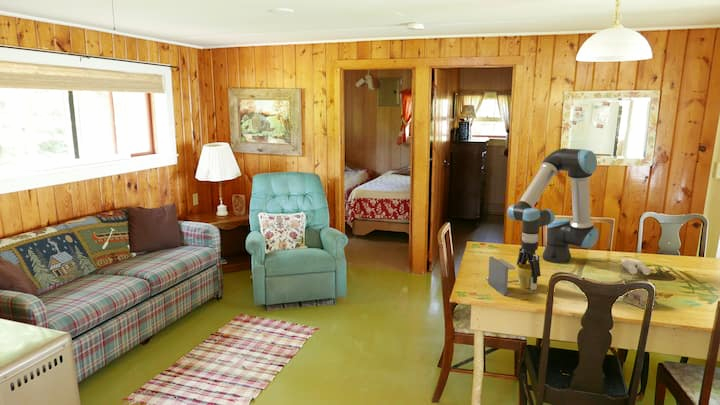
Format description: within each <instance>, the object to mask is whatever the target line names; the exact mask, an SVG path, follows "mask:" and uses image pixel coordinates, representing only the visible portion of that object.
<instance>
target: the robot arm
mask: <svg viewBox="0 0 720 405" xmlns="http://www.w3.org/2000/svg"><path fill="white" fill-rule="evenodd" d="M597 166H598V160H597V155H596V154H595V153H594V151H592V150H587V149H585V148H584V149H583V148H582V149H581V148H580V149H579V148H568V147H567V148H565V147H564V148H563V147H562V148H559V149H556V150H553V151H552V152H551V153H550V154H548V155H547V156H546V157H544V159H543V160H542V162H541V163H540V165H539V170H538V172H537V173H536V175H535V176H534V177H533V179H532V181H531V182H530V184H529V185H528V187H527V188H526V190H525V191H524V193H523V195H522V196H521V198H520V199H519V201H518V202H517V204H510V206H509V207H508V209H507V210H506V211H507V212H506V213H507V217H508V218H509V219H510V220H513V221H516V222H522V230H521V232H522V233H521V247H520V248H519V250H518V251H519V254H518V258H517V261H516V267H517V266H518V265H519V264H526V263H529V264H530V268H531V270H532V276H531V287H530V288H529V289H530V290H531V291H533V290H537V283H538V278H539V277H541V267H540V255H537V254H536V251H538V248H539V238H540V237H539V236H540V231H539V230H540V228H542V227H545V226H547V227H546V228H547V231H546V232H547V233H546V244H545V245H546V246H545V248H544V250H543V253H542V260H544V261H546V262H550V263H554V264H566V263H571V261H572V255H571V251H570V247H569V245H571V246H575V247H580V248H583V249H584V248H585V249H591V248H593V247H594V246H595V245H596V243H597V241H598V239H599V234H600V230H599V228H598V227H595V223H594V221H593V220H591V197H590V196H591V195H590V194H591V192H590V190H591V189H590V178H591V177H592V176H593V174H594V173H595V171H597ZM562 171H564V172H567V177H568V178H570V182H571V183H570V184H571V185H570V186H571V204H572V206H571V207H572V208H571V209H572V220H571V219H569V218H555V217H556V216H555V213H554V212H553V211H552V210H551V209H549V208H545V209H538V208H534V206H535V205H536V203H537V202H538V201H539V199H540V197H541V196H542V194H543V192H544V191H545V190H546V188H547V186H548V185H549V184H550V182H551V180H552V179H553V177H555V176H557V175H558V173H559V172H562ZM519 283H520V281H519Z"/></svg>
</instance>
